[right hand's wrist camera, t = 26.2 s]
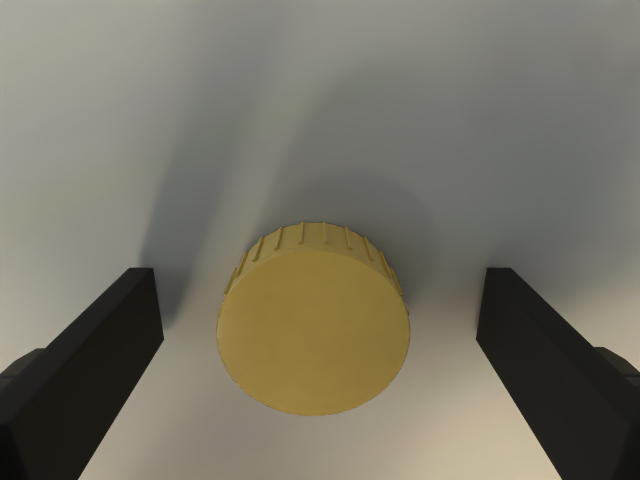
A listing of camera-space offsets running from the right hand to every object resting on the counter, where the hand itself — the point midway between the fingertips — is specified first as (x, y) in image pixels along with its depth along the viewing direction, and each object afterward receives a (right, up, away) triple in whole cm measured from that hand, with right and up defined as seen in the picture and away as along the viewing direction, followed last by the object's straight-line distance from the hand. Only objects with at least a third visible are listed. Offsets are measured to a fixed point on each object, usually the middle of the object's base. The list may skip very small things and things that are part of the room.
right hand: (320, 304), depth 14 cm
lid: (0, -1, -2) cm, 2 cm away
